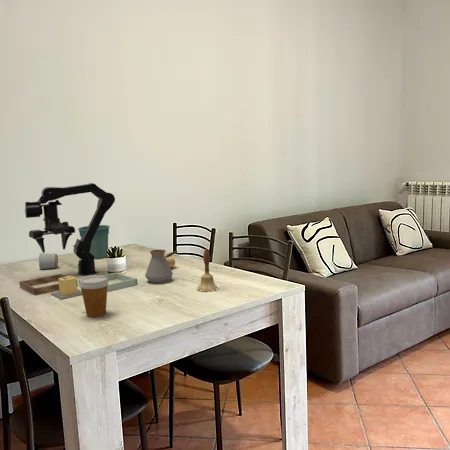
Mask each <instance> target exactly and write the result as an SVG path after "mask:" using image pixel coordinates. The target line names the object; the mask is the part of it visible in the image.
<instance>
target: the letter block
mask: <svg viewBox="0 0 450 450" xmlns="http://www.w3.org/2000/svg"><path fill="white" fill-rule="evenodd" d="M76 280H77V277H75V276H73V275H68V276H67V277H62V278H58V284H59V290H58V292H60V294H62V295H64V296H66V295H71V294H75V293H77V289H78V286H77V283H78V280H77V281H76Z"/></svg>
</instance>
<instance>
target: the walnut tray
mask: <svg viewBox="0 0 450 450" xmlns="http://www.w3.org/2000/svg"><path fill="white" fill-rule="evenodd" d="M62 277H67V276H66V275H65V274H62V273H58V274H53V275H47V276H43V277H37V278H31V279H26V280H22V281H19V289H22V290H24V291H26V292H27V293H30V294H31V295H34V296H37V295H43V294H47V293H54V292H58V291H59V283H54V284H50V285H49V284H48V283H53V282H57V281H58V282H59V280H58V278H62ZM76 281H77V287H78V286H79V282H78V280H77V279H76ZM41 284H48V285H45V286H41V287H34V286H37V285H41Z"/></svg>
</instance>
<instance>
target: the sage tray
mask: <svg viewBox="0 0 450 450" xmlns="http://www.w3.org/2000/svg"><path fill="white" fill-rule="evenodd" d="M101 276H103V277H106V278H107V280H108V281H112V280H119V281H118V282H115V283H108V286H107V293H108V292H112V291H115V290H120V289H124V288H128V287H129V286H130V287H133V285H134V286H137V285H138V278H136V277H133V276H129V275H126V274H122V273H120V272H112V273H108V274H103V275H101ZM80 281H81V279H78V285H79V284H80Z"/></svg>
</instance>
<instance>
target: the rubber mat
mask: <svg viewBox="0 0 450 450" xmlns="http://www.w3.org/2000/svg"><path fill="white" fill-rule="evenodd" d="M50 295H51V296H53V297H56V298H57V299H59V300H65V299H66V300H67V299H71V298H74V297H78V296H83V295H82V290H80V289H78V288H77V293H75V294H71V295H66V296H64V295H62V294H60V292H59V291H54V292H50Z"/></svg>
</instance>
